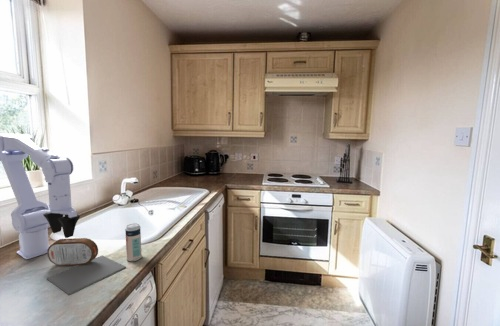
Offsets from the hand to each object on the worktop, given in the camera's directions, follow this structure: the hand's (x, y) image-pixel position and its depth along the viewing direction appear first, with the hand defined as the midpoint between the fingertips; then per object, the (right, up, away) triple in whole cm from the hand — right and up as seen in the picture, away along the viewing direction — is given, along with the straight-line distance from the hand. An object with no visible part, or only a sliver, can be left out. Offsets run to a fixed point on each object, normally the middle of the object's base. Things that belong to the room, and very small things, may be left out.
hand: (62, 234), depth 81 cm
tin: (+5, -10, -2) cm, 11 cm away
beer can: (+23, -10, +3) cm, 25 cm away
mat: (+13, -10, -6) cm, 17 cm away
